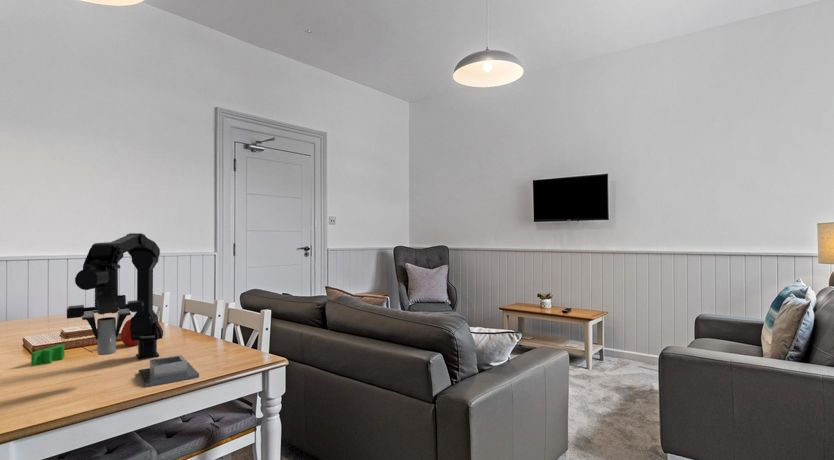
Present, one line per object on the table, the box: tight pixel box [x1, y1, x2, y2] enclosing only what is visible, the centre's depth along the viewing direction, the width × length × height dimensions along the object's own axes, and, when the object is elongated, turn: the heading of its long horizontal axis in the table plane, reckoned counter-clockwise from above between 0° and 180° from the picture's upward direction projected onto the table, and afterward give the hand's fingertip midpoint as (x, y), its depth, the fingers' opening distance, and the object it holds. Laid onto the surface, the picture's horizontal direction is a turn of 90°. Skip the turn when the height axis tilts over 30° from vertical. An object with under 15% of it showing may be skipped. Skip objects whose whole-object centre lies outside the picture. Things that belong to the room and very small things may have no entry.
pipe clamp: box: [30, 343, 65, 367], centre depth 156 cm, size 11×4×5 cm, turn 173°
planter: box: [96, 316, 117, 356], centre depth 135 cm, size 4×4×10 cm
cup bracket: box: [138, 354, 200, 388], centre depth 140 cm, size 16×14×4 cm
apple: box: [120, 319, 138, 347], centre depth 177 cm, size 8×8×11 cm
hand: (106, 337), depth 135 cm, fingers closed on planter, 4 cm apart
